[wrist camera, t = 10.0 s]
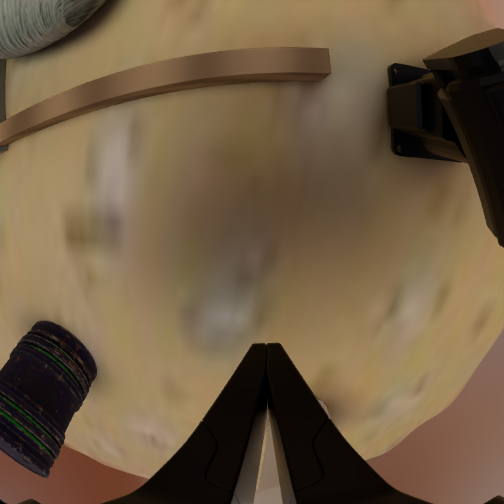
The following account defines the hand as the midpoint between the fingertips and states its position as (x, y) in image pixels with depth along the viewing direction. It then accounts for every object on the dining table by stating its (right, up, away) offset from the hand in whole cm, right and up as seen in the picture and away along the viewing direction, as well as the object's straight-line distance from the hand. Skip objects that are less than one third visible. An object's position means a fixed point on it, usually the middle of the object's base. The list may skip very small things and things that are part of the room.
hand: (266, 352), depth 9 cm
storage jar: (-23, -9, +18) cm, 30 cm away
